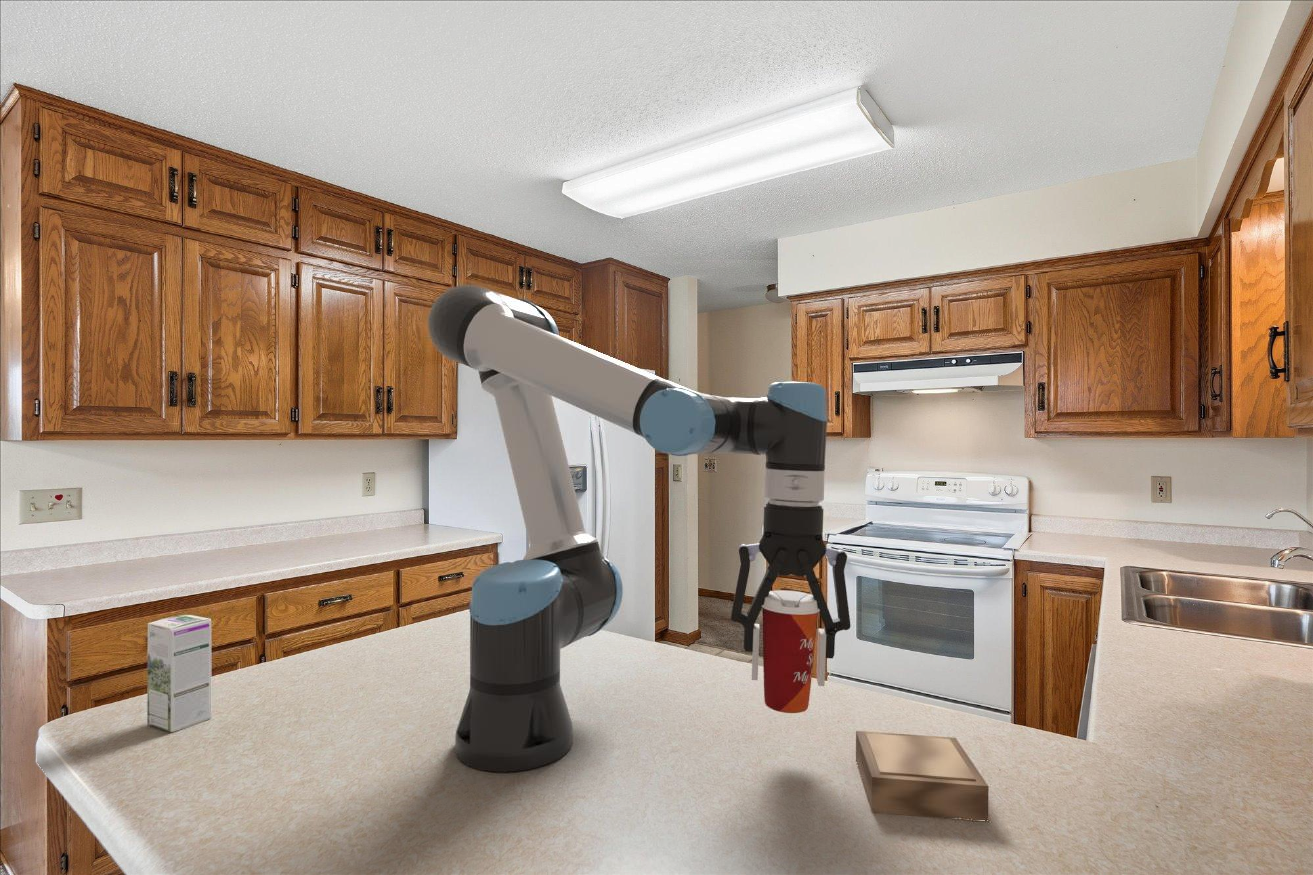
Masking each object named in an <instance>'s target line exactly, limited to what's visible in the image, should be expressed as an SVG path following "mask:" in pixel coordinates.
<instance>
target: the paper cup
mask: <svg viewBox="0 0 1313 875" xmlns="http://www.w3.org/2000/svg"><path fill="white" fill-rule="evenodd" d="M761 607H762V609H761V612H762V654H763V655H762V657H763V658H762V660H763V661H762V662H763V663H762V664H763V665H762V666H763V670H762V671H763V698H764V704H765V706H766V707H768V708H769V709H771V710H773V711H776V712H780V713H784V714H800V713H804V712H805V711H807V710H808V708H809V705H810V704H809V703H810V695H811V687H812V678H813V676H812V675H813V669H814V668H813V667H814V657H815V647H816V635H817V629H818V628H817V625H818V618H819V616H818V615H819V611H820V609H818V608H817V601H816V600H814V597H813V594H812V593H811V594H810V593H807V592H802V591H797V590H782V589H781V590H779V589H778V590H770V592H769V594H768V596H767V597H766V598H765V602H764V605H762V606H761Z"/></svg>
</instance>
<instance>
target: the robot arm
mask: <svg viewBox="0 0 1313 875" xmlns="http://www.w3.org/2000/svg"><path fill="white" fill-rule="evenodd" d="M427 328H428V329H427V330H428V334H429V337H430V339H431V342H432V343H433V345H434V347H435V349H437V351H438V352H439V353H440V354H441V355H443V356H444V357H445V358H447V359H448V360H450V361H453V362H455V363H458V364H461V365H464V366H467V367H469V368H471V369H473V370H476V371H478V375H479V379H480V383H481V388H482V390H483V391H485V392H487V393H488V394H490V395H492V396H493V397H494V399H495V404H496V408H497V412H498V417H499V422H500V426H501V430H502V432H503V438H504V442H505V445H506V450H507V455H508V459H509V463H510V467H511V471H512V475H513V480H514V484H515V488H516V493H517V496H518V500H519V505H520V509H521V514H522V518H523V521H524V522H523V523H524V526H525V531H526V534H527V539H528V543H529V548H528V550H527V552H526V553H525V555H524V556H523V558H522V559H518V560H515V561H512V562H509V561H507V562H501V563H498V564H496V565H492V566H490V567H488V568H486V569H484V570H482V571H481V572H480V573H479V574H477V575H476V577H475V578H474V580H473V582H472V584H471V585H472V586H471V598H470V601H469V608H468V610H469V618H470V620H469V623H470V624H469V625H470V627H469V634H470V635H469V638H470V640H469V647H470V648H469V650H470V651H469V662H470V663H469V673H470V674H469V676H470V677H469V679H470V680H469V692H468V694H467V698H466V700H465V704H464V706H463V709H462V712H461V716H460V719H459V722H458V725H457V728H456V730H455V741H454V742H455V743H454V749H455V750H454V751H455V752H454V753H455V755H456V758H458V759H457V760H459V761H460V762H462V763H463V764H464V765H466V766H469V767H471V768H474V769H476V770H477V769H478V770H483V771H487V772H488V771H489V772H501V773H502V772H504V773H506V772H517V771H520V772H521V771H526V770H532V769H536V768H539V767H543V766H546V765H549V764H551V763H553V762H555V761H558V760H559V759H561V758H562V757H564V756H565V755H566V754H567V753H568V752H569V751H570V750H571V748H572V746H573V737H574V736H573V729H574V728H573V727H574V726H573V721H572V717H571V714H570V712H569V709H568V705H567V702H566V699H565V696H564V693H563V690H562V686H561V649H563V648H565V647H568V646H569V645H571V644H574V643H575V642H577V641H579V640H582V639H583V638H586V637H591V636H593V635H595V634H597V633H598V632H600V631H601V630H602V629H603V628H605V627H606V626H607V625H608V624H610V623H611V621H613V620H614V619H615V617H616V615H617V613H618V612H619V611H620V608H621V605H622V601H623V593H624V588H623V581H622V578H621V574H620V572H619V570H618V568H617V567H616V566H615V564H614V563H613V562H611V561H609V560H608V558H607V557H605V556H603V554H602V552H601V549H600V544H599V541H598V539H597V538H596V537H595V536H593V535H591V534H589V533H588V532H587V531H586V528H585V526H584V521H583V517H582V513H581V510H580V505H579V502H578V497H577V494H576V493H577V492H576V489H575V485H574V481H573V478H572V474H571V469H570V465H569V461H568V457H567V453H566V450H565V445H564V441H563V435H562V432H561V430H560V425H559V421H558V417H557V412H556V408H555V405H554V401H553V397H554V398H556V399H559V400H561V401H563V402H565V403H568V404H569V405H572V406H573V407H576V408H578V409H581V410H582V411H585V412H587V413H590V414H592V415H593V416H596V417H598V418H601V419H603V420H605V421H607V422H609V423H611V424H614V425H616V426H618V427H621V428H623V429H625V430H627V431H629V432H631V433H634V434H636V435H637V436H640V437H642V438H643V439H645V441H646V442H647V443H648V445H650V446H651V447H652V448H653V449H654V450H656V451H658V452H660V453H662V454H669V455H671V456H675V457H684V456H689V455H701V454H704V455H707V454H709V455H710V454H711V455H713V454H716V455H717V454H727V455H728V454H729V455H731V454H732V455H734V454H735V455H740V454H741V455H757V456H761V455H763V456H764V455H765V475H764V497H765V499H766V500H768V502H765V504H764V506H763V525H762V526H763V528H762V537H761V538H760V540H759V542H757V543H751V544H747V543H741V544H740V545H739V548H738V554H739V561H740V567H739V571H738V576H737V581H736V587H735V591H734V597H733V602H732V607H731V615H730V620H731V621H732V622H734V623H738V624H740V625H742V626H743V628H744V634H743V649H744V652H746V653H748V652H749V653H752V659H751V660H752V662H751V680H752V681H758V679H759V678H758V677H759V676H758V675H759V654H760V653H759V649H760V623H756V621H757V620H758V618H759V615H760V613H761V612H762V607H761V606H762V605H764V602H765V598H766V597H767V596H768V594H769V592H770V591H772V587H773V585H774V584H775V582H776V580H777V578H778V576H783V577H786V576H790V575H792V576H794V577H801V578H806V580H807V583H808V586H809V589H810V591H811V592H810V593H811V595H813V597H814V600H816V601H817V608H818V609H820V611H819V612H818V614H819V615H820V617H821V621H822V624H823V626H824V627H823V628H817V650H816V651H817V654H816V681H817V685H818V686H819V687H825V683H826V681H825V679H826V677H825V676H826V659H833V658H835V657H834V656H835V648H836V647H835V646H836V635H837V633H838V632H840V631H848V630H850V629H851V626H852V625H851V618H850V611H849V610H850V608H849V602H848V593H847V585H846V578H845V577H846V576H845V569H846V568H845V567H846V564H847V560H848V555H847V553H846V552H845V550H844V549H842V548H838V549H834V548H831V547H828V546H826V543H825V542H824V540H823V538H824V537H823V532H824V530H823V529H824V512H825V511H824V508H823V506H822V505H820V503H822V502H823V501H824V500H825V474H826V472H825V470H826V468H825V467H826V466H825V465H826V447H827V432H828V431H827V429H828V421H829V419H828V412H827V410H828V409H827V406H828V404H827V390H826V388H824V386H823V385H821V384H819V383H816V382H807V381H806V382H805V381H784V382H783V381H780V382H779V381H778V382H772V383H771V384H770V385H769V386H768V390H767V394H766V397H757V398H750V397H749V398H746V397H723V396H720V395H713V394H708V393H703V392H699V391H695V390H692V389H690V388H687V387H685V386H682V385H679V384H678V383H675V382H673V381H671V380H668V379H664V378H662V377H660V376H657V375H655V374H652V373H649V372H647V371H645V370H643V369H640V368H638V367H635V366H634V365H630V364H629V363H625V362H623V361H621V360H618V359H616V358H613V357H610V356H609V355H606V354H603V353H601V352H598V351H596V350H594V349H592V348H588V347H586V346H584V345H581V344H579V343H578V342H574V341H571V340H569V339H567V338H565V337H562V336H560V334H559V329H558V326H557V324H556V322H555V321H554V318H552V316H551V315H550V314H549V313H548V312H547V311H546V310H545V309H543V308H542V307H540V306H538V305H536V304H534V303H533V302H531V301H529V300H526V299H523V298H518V297H515V298H514V297H512V296H508V295H506V294H503V293H499V292H497V291H495V290H490V289H488V288H485V287H482V286H478V285H471V284H470V285H469V284H468V285H467V284H466V285H465V284H464V285H459V286H454V287H452V288H449V289H446V291H445V292H443V293H441V294H440V296H438V297H437V298H436V300H435V301H434V302H433V304H432V306H431V307H430V310H429V312H428V318H427ZM758 553H761V555H762V556H763V557H764V559H765V561H766V563H768V567H767V569H766V571H765V573H764V576H763V577H762V580H761V582H760V584H759V587H758V589H757V590H756V593H755V596H754V597H753V599H752V601H751V604H750V606H749V608H748V609H747V612H744V611H743V606H744V600H745V595H746V590H747V585H748V580H749V579H748V578H749V574H750V569H751V562H754V561H755V560H756V558H757V554H758ZM824 557H826V558H827V562H828V564H829V565H830V566H831V567H832V578H833V585H834V586H833V587H834V595H835V602H836V611H837V612H836V613H837V618H833V617H832V615H831V613H830V609H829V607H828V605H827V602H826V599H825V596H824V594H823V592H822V589H821V586H820V584H819V581H818V578H817V575H816V573H815V570H814V569H815V567H816V566H817V565H818V564H819V562H820V561H821V560H822V559H823V558H824Z"/></svg>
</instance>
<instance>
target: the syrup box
mask: <svg viewBox="0 0 1313 875" xmlns="http://www.w3.org/2000/svg"><path fill="white" fill-rule="evenodd" d="M146 650H147V651H146V652H147V658H146V660H147V664H146V665H147V667H146V668H147V672H146V673H147V682H146V683H147V689H146V690H147V691H146V694H147V700H146V701H147V702H146V703H147V706H146V707H147V714H146V715H147V716H146V717H147V719H146V720H147V721H146V722H147V724H146V725H148V726H150V727H153V728H156V729H160V730H163V731H166V732H169V733H174V732H177V731H179V730H184V729H186V728H188V727H193V726H195V725H197V724H200V723H202V722H205V721H208V720H210V719H211V718H212V619H211V618H209V617H203V616H198V615H193V614H192V615H191V614H180V615H174V616H169V617H165V618H161V619H158V620H155V621H151V622H147V649H146Z"/></svg>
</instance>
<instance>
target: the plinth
mask: <svg viewBox="0 0 1313 875" xmlns="http://www.w3.org/2000/svg"><path fill="white" fill-rule="evenodd" d="M856 762H857V763H856ZM855 763H856V766H857V765H858V766H857V769H859V770H858V773H859V772H860V773H859V775H861V776H860V778H862V779H861V782H862V785H863V788H865V789H864V791H865V794H866V798H867V802H868V804H869V808H870V811H871V812H872V813H878V814H879V813H881V814H890V815H892V814H893V815H902V816H903V815H904V816H915V817H924V818H925V817H927V818H936V817H938V818H939V819H948V818H958V819H957V820H959V818H961V819H969V820H968V821H971V819H972V820H985V821H987V820H988V821H989V785H988V784H987V782H986V780H985V779H984V777H983V776H982V774H981V773H980V772H979V770H978V769H977V767H976V766H975V764H974V762H973V761H972V759H971V758H970V757H969V755H968V753H967V752H966V751H965V750H964V748H963V746H962V745H961V743H960V742H959V741H958V739H957V737H953V736H952V737H950V736H949V737H947V736H936V735H921V734H920V735H919V734H909V733H908V734H906V733H905V734H904V733H891V732H879V731H878V732H877V731H867V730H866V731H863V730H855ZM942 817H943V818H942ZM938 818H937V819H938Z"/></svg>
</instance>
